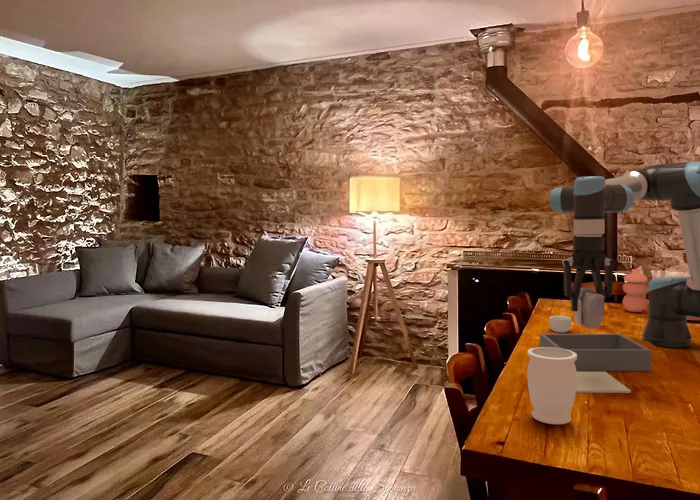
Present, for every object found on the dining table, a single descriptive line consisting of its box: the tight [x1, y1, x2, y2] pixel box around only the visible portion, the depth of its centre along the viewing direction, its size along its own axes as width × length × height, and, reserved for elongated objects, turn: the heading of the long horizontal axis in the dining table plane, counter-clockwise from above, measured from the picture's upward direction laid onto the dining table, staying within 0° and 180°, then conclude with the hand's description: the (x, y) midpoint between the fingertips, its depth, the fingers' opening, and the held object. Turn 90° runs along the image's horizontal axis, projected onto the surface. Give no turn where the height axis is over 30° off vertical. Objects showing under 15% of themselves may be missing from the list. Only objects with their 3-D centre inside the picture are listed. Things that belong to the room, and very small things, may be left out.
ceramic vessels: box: [622, 268, 700, 321], centre depth 236 cm, size 35×21×19 cm, turn 57°
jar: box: [526, 346, 577, 425], centre depth 121 cm, size 11×10×15 cm
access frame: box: [539, 333, 652, 372], centre depth 166 cm, size 25×20×6 cm
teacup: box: [548, 315, 572, 334], centre depth 206 cm, size 10×8×5 cm
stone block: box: [578, 287, 605, 329], centre depth 144 cm, size 12×5×10 cm, turn 174°
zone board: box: [575, 371, 632, 394], centre depth 146 cm, size 16×16×1 cm
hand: (587, 323), depth 144 cm, fingers closed on stone block, 4 cm apart
